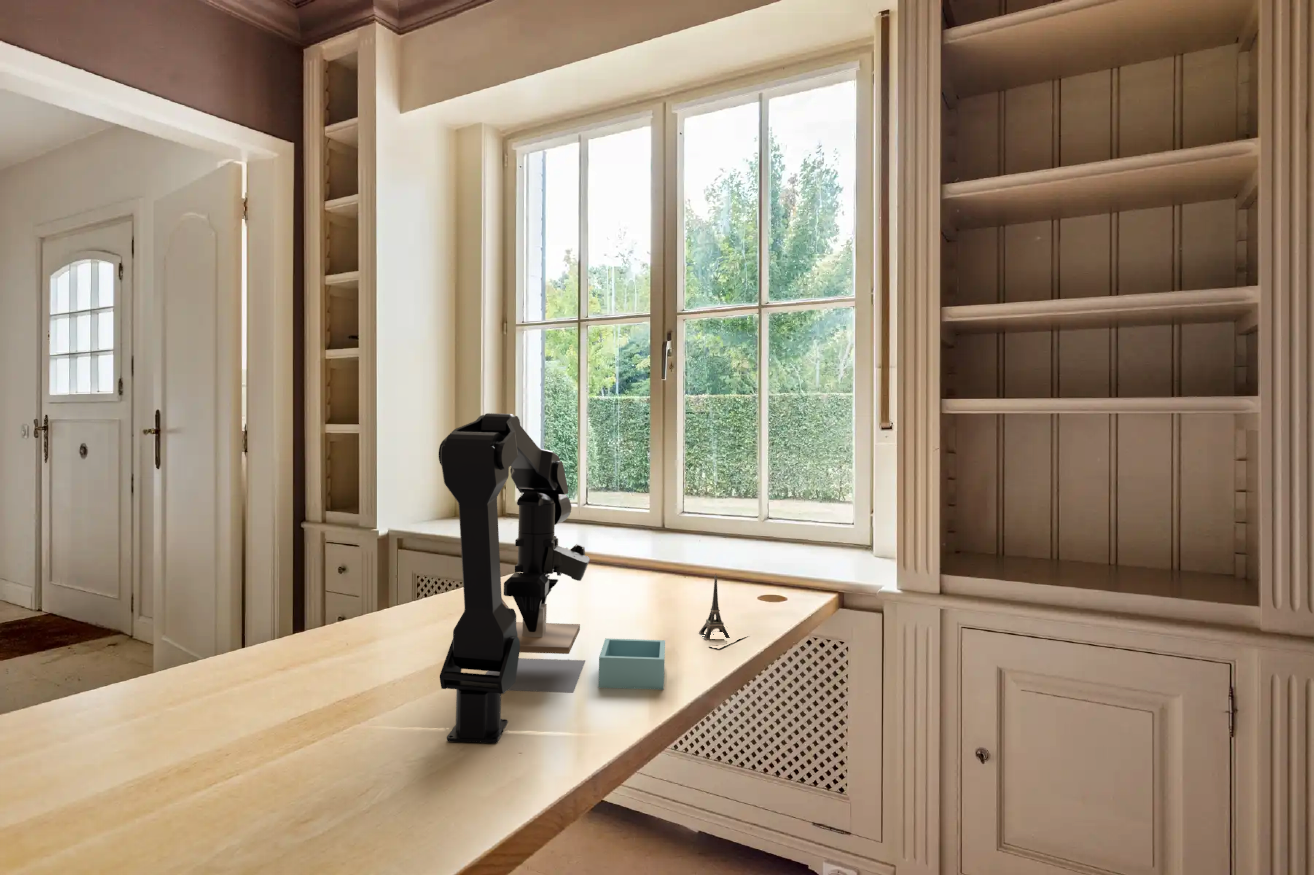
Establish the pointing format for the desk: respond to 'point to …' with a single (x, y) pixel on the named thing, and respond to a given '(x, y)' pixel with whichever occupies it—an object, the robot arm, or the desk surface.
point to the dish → (632, 664)
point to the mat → (546, 675)
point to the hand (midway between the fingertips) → (534, 628)
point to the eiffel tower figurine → (712, 622)
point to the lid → (547, 636)
